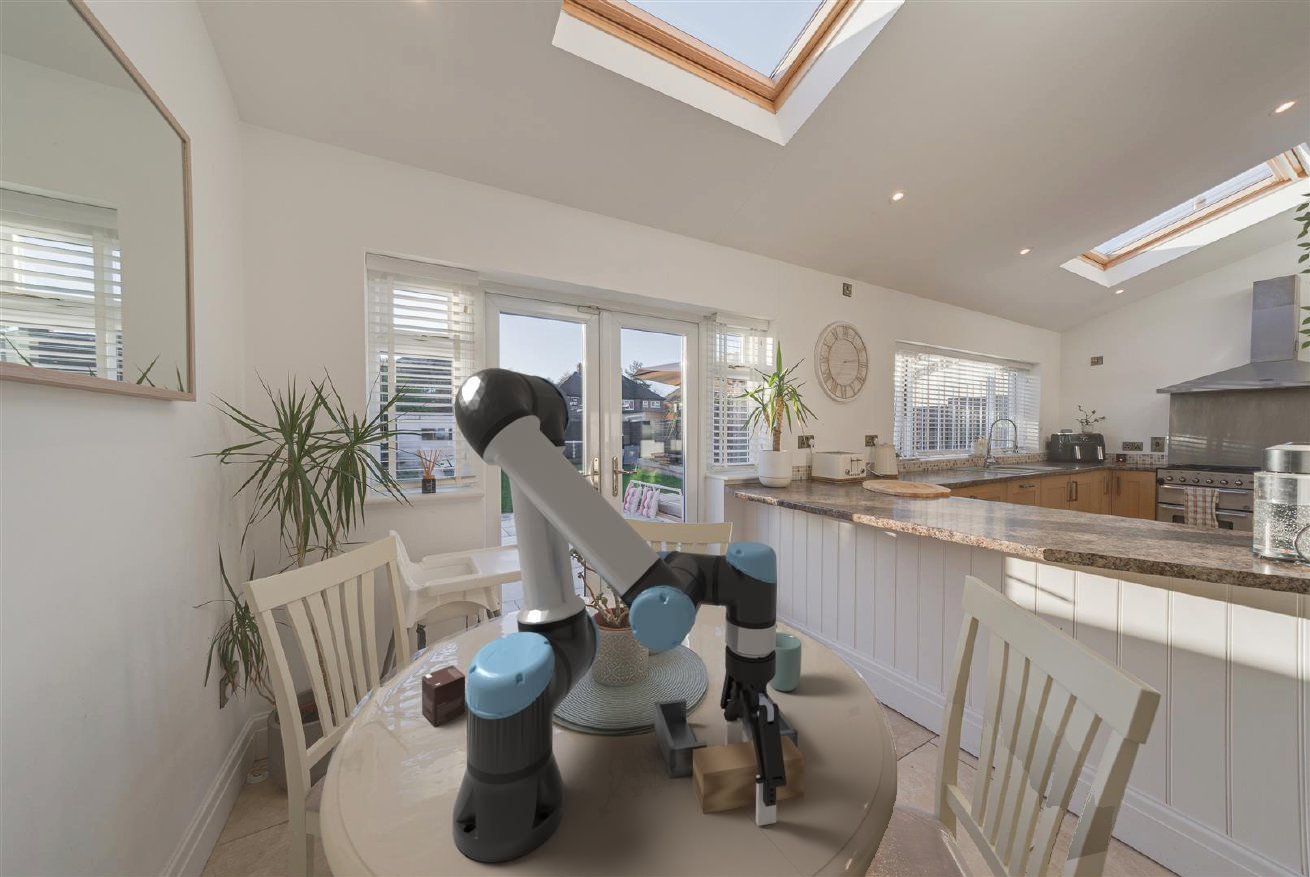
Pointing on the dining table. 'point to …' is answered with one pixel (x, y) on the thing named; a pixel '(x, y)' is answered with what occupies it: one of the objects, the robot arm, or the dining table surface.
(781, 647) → the cup
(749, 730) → the bracket right
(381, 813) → the dining table surface
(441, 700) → the box
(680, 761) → the bracket left
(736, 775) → the wooden block
